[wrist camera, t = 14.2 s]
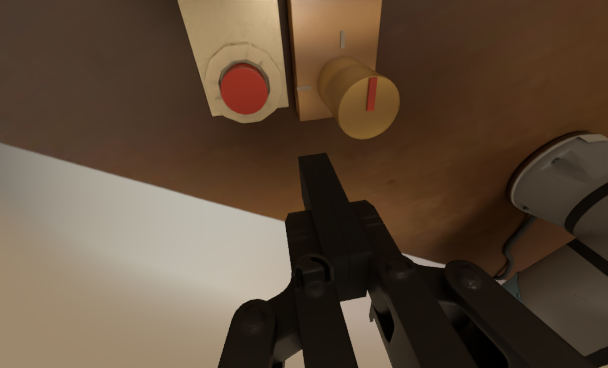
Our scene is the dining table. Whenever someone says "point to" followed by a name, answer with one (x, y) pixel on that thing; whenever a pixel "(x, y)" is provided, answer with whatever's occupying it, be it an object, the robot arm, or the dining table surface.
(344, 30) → the dimmer console
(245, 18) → the lamp base
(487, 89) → the dining table surface
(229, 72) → the lamp switch
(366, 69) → the dimmer knob
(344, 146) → the dining table surface
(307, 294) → the robot arm
